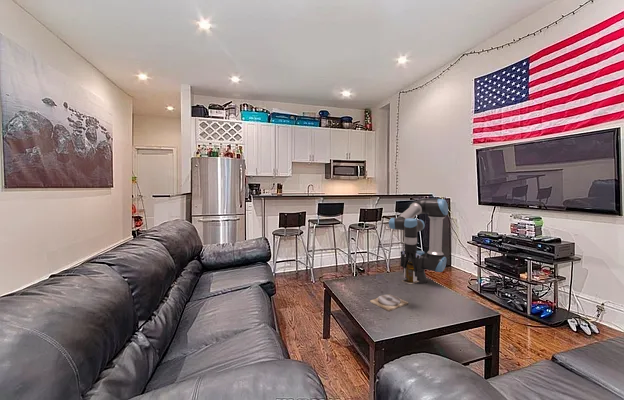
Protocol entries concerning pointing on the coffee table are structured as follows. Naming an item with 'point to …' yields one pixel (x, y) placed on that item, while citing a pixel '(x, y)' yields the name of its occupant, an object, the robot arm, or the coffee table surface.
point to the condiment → (409, 273)
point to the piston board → (388, 302)
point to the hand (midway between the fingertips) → (410, 279)
